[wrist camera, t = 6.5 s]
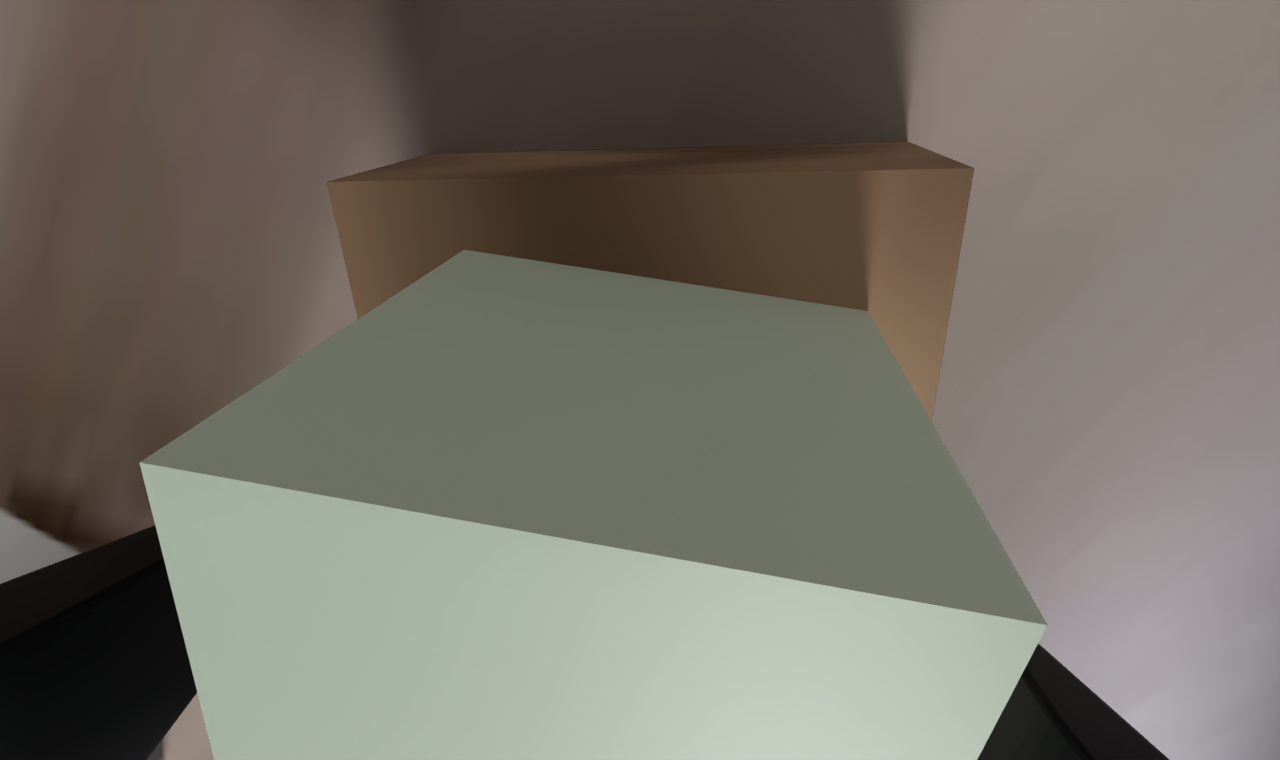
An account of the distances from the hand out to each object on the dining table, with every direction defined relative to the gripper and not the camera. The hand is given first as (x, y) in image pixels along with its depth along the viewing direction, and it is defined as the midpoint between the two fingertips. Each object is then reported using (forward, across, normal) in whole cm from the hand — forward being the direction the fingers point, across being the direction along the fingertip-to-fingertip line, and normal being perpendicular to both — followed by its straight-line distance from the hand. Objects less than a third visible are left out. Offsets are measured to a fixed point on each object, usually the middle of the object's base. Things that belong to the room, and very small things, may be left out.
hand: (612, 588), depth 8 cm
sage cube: (+3, 0, 0) cm, 3 cm away
